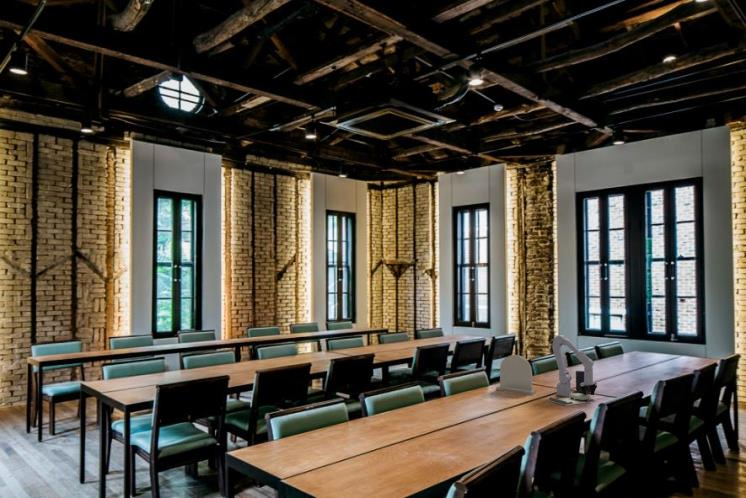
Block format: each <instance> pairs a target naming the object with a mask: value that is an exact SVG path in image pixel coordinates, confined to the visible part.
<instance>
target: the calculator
mask: <svg viewBox="0 0 746 498" xmlns="http://www.w3.org/2000/svg"><path fill="white" fill-rule="evenodd" d="M583 382H584V370H576V371H575V391H576V392H583V391H582V389H581V387H580V383H583ZM586 387H588V390H587V393H589V392H590V386H589V385H587V386H586ZM590 393H591V392H590Z"/></svg>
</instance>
